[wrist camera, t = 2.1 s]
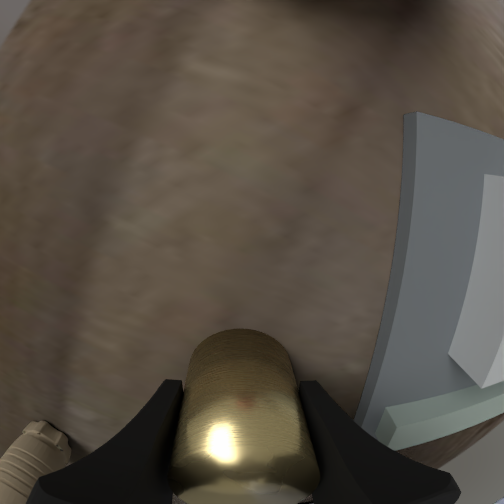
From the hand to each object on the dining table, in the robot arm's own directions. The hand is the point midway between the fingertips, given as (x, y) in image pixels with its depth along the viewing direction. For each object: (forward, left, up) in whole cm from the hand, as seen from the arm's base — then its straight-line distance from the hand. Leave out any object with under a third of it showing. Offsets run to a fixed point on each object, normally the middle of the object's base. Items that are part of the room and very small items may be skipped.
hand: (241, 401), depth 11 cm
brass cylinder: (0, 0, -2) cm, 2 cm away
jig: (+3, -13, -2) cm, 13 cm away
